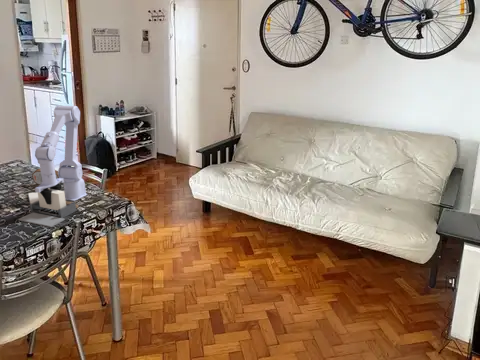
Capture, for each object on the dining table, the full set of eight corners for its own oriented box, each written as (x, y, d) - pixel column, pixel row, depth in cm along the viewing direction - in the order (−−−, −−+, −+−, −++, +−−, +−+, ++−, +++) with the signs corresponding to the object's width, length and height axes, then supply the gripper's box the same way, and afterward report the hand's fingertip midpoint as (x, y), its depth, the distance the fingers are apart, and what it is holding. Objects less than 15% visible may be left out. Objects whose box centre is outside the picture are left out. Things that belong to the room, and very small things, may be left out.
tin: (63, 184, 235) (60, 169, 232) (60, 186, 232) (57, 171, 229) (35, 183, 236) (33, 168, 233) (32, 185, 233) (30, 170, 230)
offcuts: (56, 202, 210) (55, 198, 210) (78, 207, 206) (78, 203, 205) (51, 205, 208) (51, 201, 207) (73, 209, 203) (73, 205, 202)
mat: (33, 213, 199) (32, 212, 199) (64, 219, 192) (64, 218, 192) (18, 220, 192) (18, 219, 192) (50, 227, 185) (50, 226, 185)
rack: (46, 205, 208) (45, 197, 207) (76, 210, 202) (75, 202, 200) (30, 212, 200) (29, 204, 198) (61, 218, 194) (60, 210, 192)
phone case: (50, 204, 210) (46, 193, 224) (50, 201, 210) (46, 190, 223) (30, 207, 206) (27, 196, 220) (29, 204, 206) (27, 193, 219)
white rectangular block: (45, 204, 204) (43, 187, 201) (66, 208, 199) (64, 191, 197) (39, 206, 201) (37, 190, 198) (60, 211, 196) (58, 193, 194)
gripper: (53, 167, 202) (57, 195, 207) (27, 177, 190) (32, 206, 194) (65, 169, 200) (69, 197, 204) (40, 179, 187) (45, 209, 192)
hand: (52, 202), depth 199 cm, fingers closed on white rectangular block, 3 cm apart
